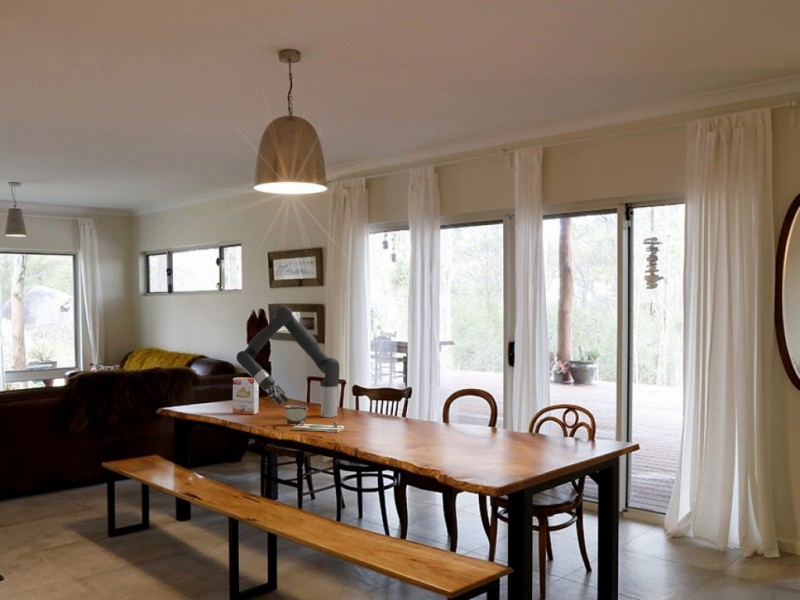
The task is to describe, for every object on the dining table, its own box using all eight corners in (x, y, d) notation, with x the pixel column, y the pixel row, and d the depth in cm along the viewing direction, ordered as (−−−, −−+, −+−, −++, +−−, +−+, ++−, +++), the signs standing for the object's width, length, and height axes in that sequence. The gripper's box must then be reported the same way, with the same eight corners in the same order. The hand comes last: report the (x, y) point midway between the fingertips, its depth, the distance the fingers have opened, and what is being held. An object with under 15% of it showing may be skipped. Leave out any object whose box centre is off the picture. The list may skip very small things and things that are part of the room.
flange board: (300, 426, 354) (300, 418, 354) (344, 428, 349) (344, 420, 349) (291, 430, 343) (292, 422, 343) (337, 432, 338) (337, 424, 338)
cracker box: (232, 413, 395) (232, 377, 396) (237, 412, 401) (237, 376, 402) (253, 415, 391) (254, 378, 392) (258, 413, 397) (259, 377, 397)
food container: (309, 423, 364) (310, 404, 364) (307, 425, 357) (307, 406, 358) (287, 423, 365) (287, 404, 365) (284, 425, 359) (284, 406, 359)
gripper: (263, 376, 358) (283, 399, 355) (274, 374, 372) (293, 395, 369) (254, 386, 359) (274, 408, 357) (264, 383, 373) (284, 405, 370)
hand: (284, 402), depth 363 cm, fingers open, 8 cm apart
